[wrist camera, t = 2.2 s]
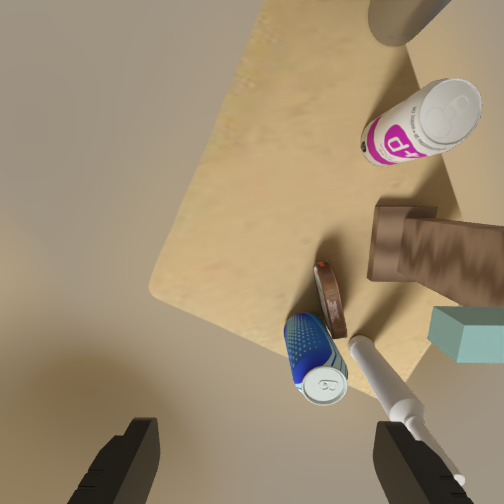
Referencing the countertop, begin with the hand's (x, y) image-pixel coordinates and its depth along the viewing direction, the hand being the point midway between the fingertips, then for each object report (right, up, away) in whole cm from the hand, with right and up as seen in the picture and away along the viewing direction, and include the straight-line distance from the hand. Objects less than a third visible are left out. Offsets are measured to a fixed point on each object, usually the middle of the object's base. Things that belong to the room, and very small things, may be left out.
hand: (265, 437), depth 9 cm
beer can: (+10, -9, +41) cm, 44 cm away
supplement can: (+22, +26, +33) cm, 48 cm away
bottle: (+22, -13, +42) cm, 49 cm away
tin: (+14, -1, +40) cm, 42 cm away
